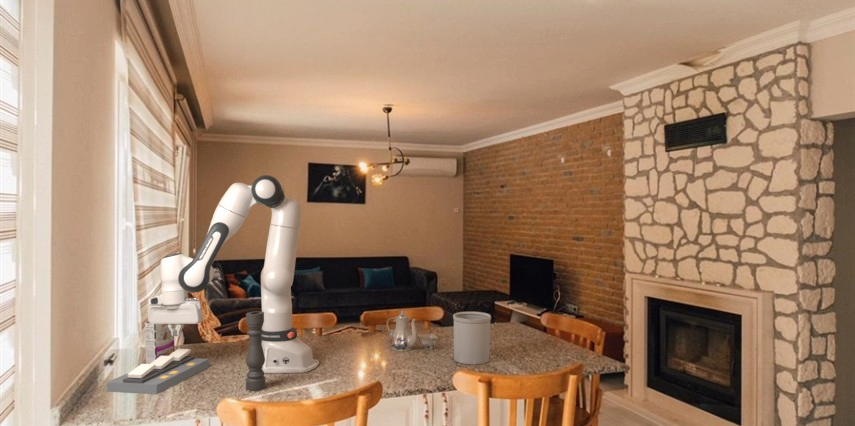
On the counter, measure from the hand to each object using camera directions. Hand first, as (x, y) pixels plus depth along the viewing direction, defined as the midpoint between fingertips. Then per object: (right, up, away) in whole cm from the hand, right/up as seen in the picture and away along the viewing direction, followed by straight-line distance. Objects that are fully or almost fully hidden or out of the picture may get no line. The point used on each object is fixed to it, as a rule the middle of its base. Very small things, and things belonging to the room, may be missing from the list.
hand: (176, 335), depth 198 cm
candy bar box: (-13, -13, +15) cm, 24 cm away
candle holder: (+35, -13, -19) cm, 42 cm away
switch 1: (-4, -8, -17) cm, 19 cm away
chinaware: (+83, -13, +33) cm, 90 cm away
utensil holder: (+109, -13, +14) cm, 111 cm away
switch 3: (0, -8, +2) cm, 8 cm away
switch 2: (-2, -8, -7) cm, 11 cm away
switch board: (-2, -13, -7) cm, 15 cm away
